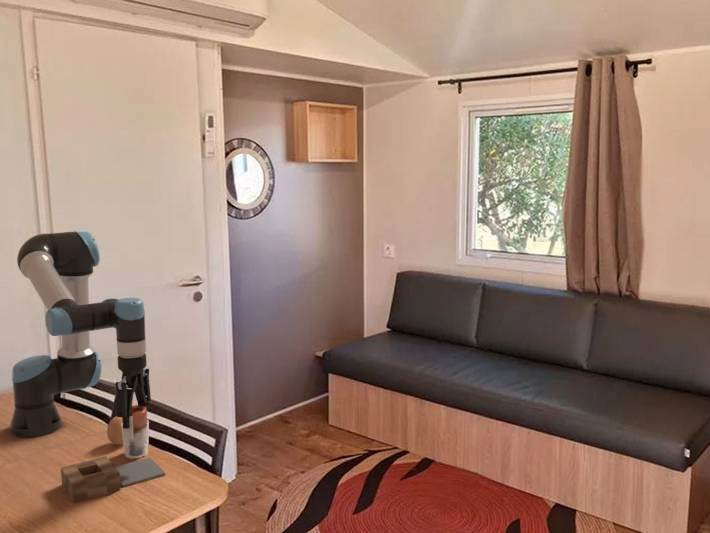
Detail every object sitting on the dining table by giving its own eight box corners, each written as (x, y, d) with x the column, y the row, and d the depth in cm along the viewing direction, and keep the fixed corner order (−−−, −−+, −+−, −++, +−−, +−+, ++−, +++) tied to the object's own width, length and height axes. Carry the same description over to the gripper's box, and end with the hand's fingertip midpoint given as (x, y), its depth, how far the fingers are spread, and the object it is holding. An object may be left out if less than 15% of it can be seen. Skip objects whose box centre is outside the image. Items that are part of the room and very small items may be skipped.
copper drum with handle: (152, 449, 190) (150, 403, 188) (140, 459, 184) (138, 411, 182) (132, 447, 191) (130, 401, 189) (120, 456, 185) (117, 409, 183)
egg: (123, 449, 203) (122, 421, 202) (103, 447, 205) (102, 419, 203) (134, 440, 210) (132, 413, 208) (114, 438, 211) (113, 411, 210)
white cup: (141, 461, 196) (140, 429, 194) (117, 458, 198) (115, 426, 196) (154, 449, 204) (153, 418, 202) (131, 447, 205) (130, 416, 204)
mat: (109, 470, 190) (109, 468, 190) (150, 459, 197) (150, 457, 197) (122, 487, 180) (122, 485, 180) (165, 474, 188) (165, 472, 188)
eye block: (61, 484, 181) (60, 467, 180) (106, 472, 189) (105, 456, 188) (73, 503, 172) (72, 485, 171) (120, 489, 179) (119, 472, 178)
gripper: (138, 344, 193) (141, 419, 197) (99, 363, 175) (103, 446, 178) (161, 345, 192) (164, 421, 195) (124, 365, 173) (128, 449, 177)
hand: (135, 433), depth 187 cm, fingers closed on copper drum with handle, 6 cm apart
